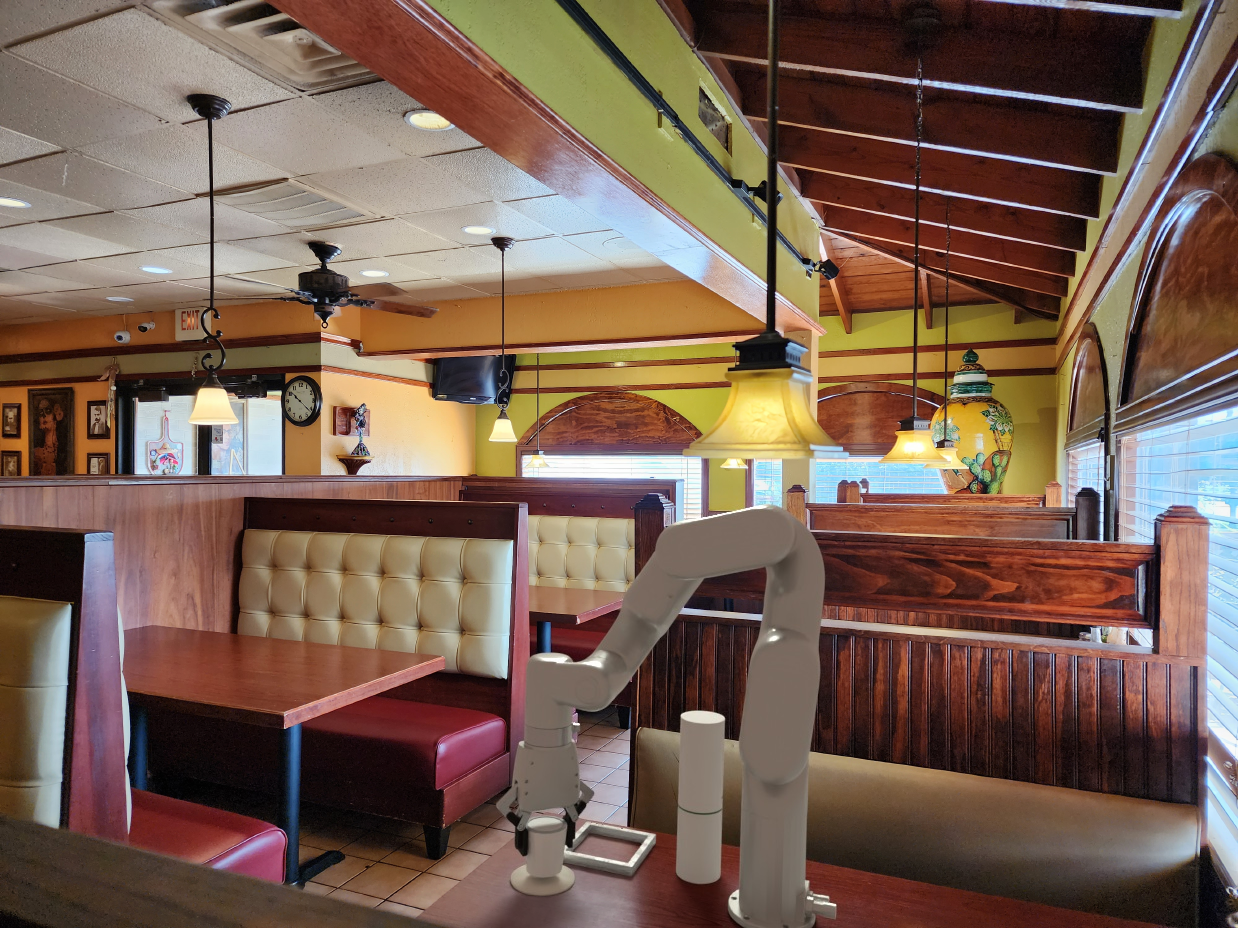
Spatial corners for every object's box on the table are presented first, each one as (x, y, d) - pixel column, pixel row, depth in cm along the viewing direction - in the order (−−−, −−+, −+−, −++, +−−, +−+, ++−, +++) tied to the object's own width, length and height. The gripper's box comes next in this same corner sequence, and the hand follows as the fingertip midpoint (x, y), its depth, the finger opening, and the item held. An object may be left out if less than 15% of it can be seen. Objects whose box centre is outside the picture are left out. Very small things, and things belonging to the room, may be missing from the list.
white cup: (564, 880, 122) (565, 833, 123) (519, 878, 123) (520, 831, 123) (567, 859, 129) (569, 815, 129) (525, 857, 129) (526, 813, 130)
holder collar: (655, 842, 140) (655, 834, 140) (631, 876, 128) (631, 866, 128) (586, 829, 144) (586, 821, 144) (556, 860, 132) (557, 851, 132)
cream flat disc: (584, 871, 129) (584, 868, 129) (558, 901, 119) (558, 898, 119) (528, 859, 132) (528, 857, 132) (499, 887, 123) (499, 885, 123)
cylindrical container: (721, 864, 133) (725, 712, 133) (719, 886, 126) (723, 725, 126) (678, 859, 134) (682, 709, 134) (673, 880, 127) (678, 721, 127)
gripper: (589, 721, 133) (586, 830, 133) (487, 732, 126) (484, 847, 126) (608, 734, 127) (605, 849, 126) (501, 747, 119) (498, 869, 119)
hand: (544, 847), depth 126 cm, fingers closed on white cup, 6 cm apart
